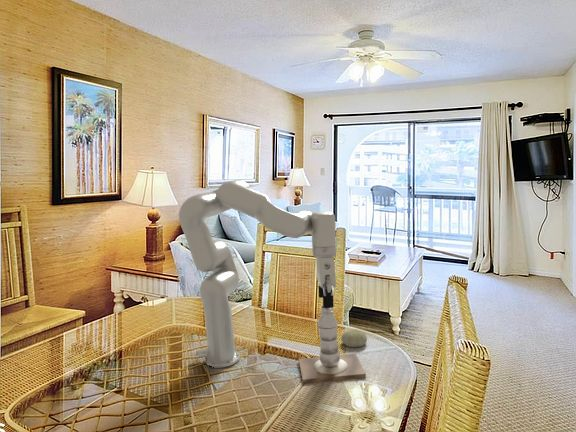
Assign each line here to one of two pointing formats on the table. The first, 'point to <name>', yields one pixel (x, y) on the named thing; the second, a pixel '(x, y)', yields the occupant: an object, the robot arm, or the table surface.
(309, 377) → the walnut board
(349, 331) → the sea urchin shell
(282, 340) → the table surface
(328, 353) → the plastic bottle
